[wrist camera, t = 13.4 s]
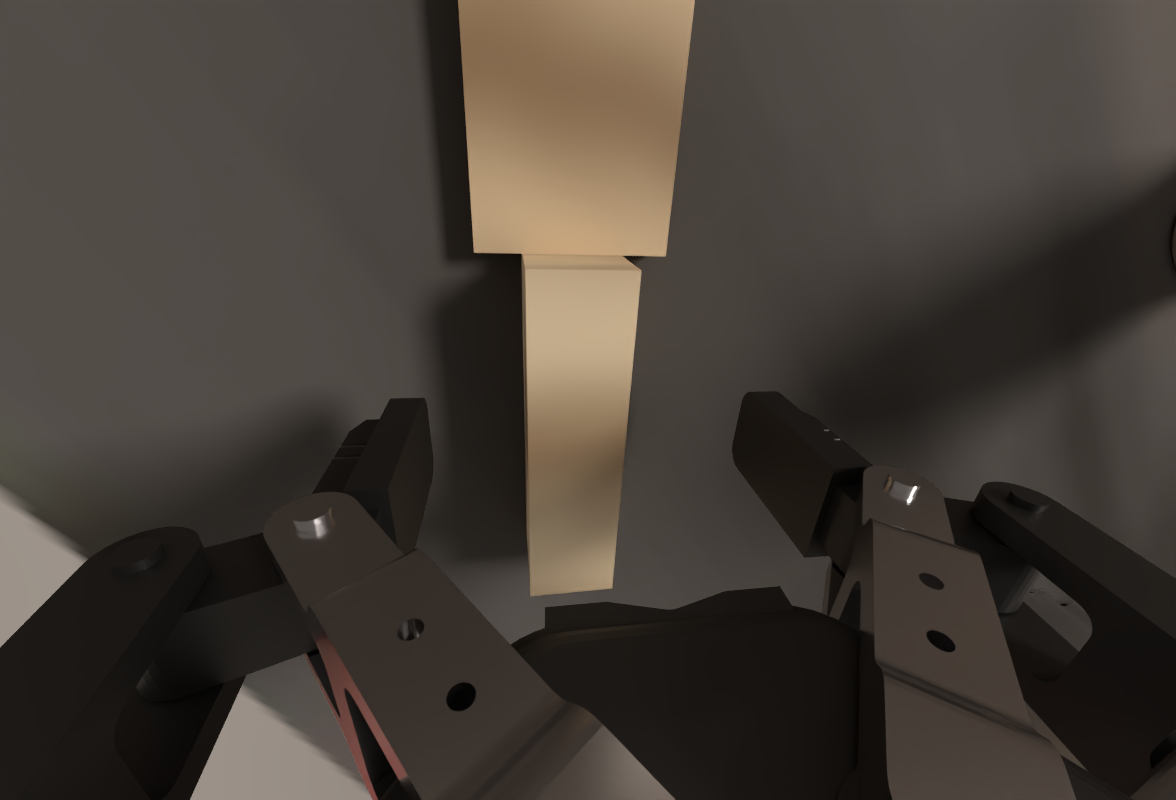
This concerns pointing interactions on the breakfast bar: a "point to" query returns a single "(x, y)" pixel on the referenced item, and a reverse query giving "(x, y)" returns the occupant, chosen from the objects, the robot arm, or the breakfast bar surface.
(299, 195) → the breakfast bar surface
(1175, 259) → the beer glass
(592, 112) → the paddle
